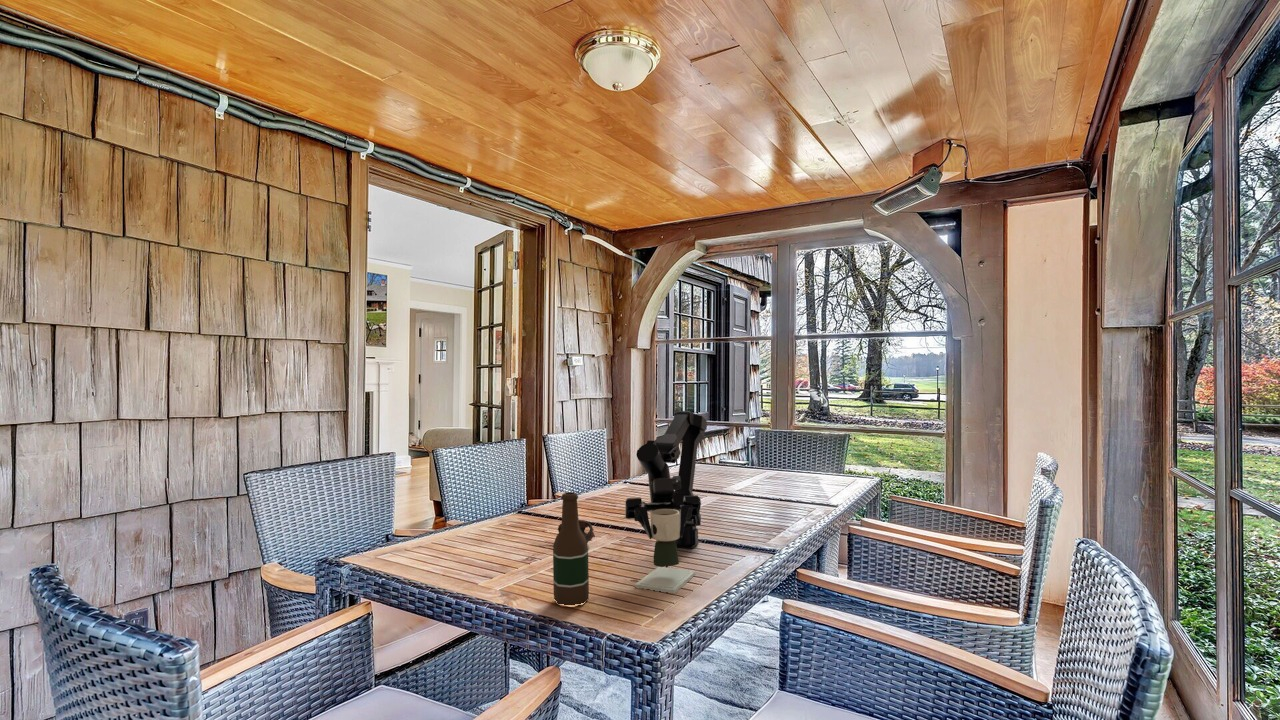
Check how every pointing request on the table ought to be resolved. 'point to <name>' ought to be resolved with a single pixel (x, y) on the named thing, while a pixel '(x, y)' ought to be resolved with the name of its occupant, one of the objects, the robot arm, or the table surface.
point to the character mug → (665, 536)
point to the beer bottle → (570, 556)
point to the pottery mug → (583, 525)
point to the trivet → (665, 579)
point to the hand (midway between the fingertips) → (666, 537)
